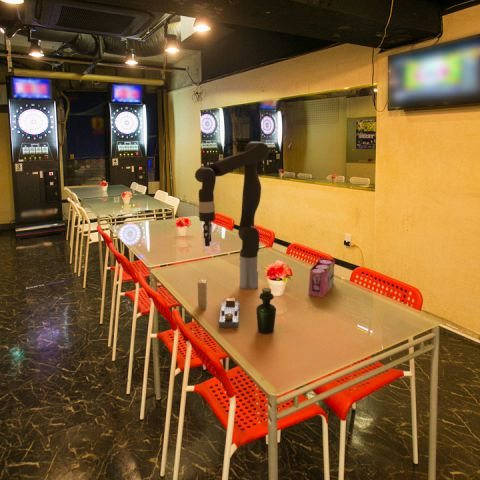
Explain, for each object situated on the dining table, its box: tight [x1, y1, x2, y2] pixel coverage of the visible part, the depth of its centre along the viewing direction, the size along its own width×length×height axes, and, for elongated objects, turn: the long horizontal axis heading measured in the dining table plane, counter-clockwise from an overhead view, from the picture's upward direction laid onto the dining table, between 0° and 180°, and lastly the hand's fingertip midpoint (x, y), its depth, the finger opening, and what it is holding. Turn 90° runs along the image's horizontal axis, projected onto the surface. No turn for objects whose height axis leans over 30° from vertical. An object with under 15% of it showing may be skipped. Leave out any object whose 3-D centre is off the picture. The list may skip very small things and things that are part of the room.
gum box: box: [307, 258, 336, 298], centre depth 216 cm, size 24×8×14 cm, turn 155°
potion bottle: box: [255, 287, 277, 335], centre depth 170 cm, size 8×8×18 cm
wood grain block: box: [197, 278, 208, 310], centre depth 193 cm, size 5×4×13 cm
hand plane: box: [218, 297, 240, 329], centre depth 184 cm, size 22×8×5 cm, turn 179°
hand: (208, 243), depth 200 cm, fingers open, 8 cm apart
